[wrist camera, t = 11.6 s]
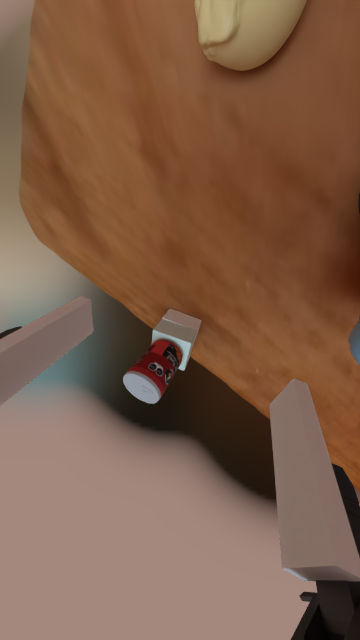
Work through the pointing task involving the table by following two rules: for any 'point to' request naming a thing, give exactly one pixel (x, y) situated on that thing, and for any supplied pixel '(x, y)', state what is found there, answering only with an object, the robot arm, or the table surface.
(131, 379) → the canned food
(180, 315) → the tower base
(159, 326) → the tower top
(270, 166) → the table surface
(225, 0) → the sculpture
